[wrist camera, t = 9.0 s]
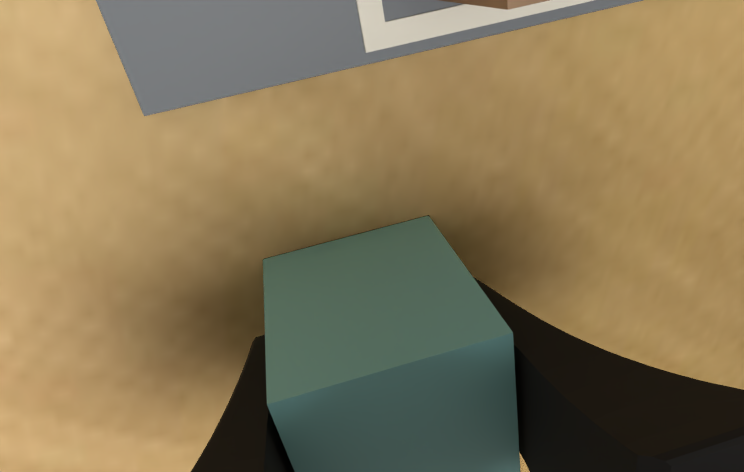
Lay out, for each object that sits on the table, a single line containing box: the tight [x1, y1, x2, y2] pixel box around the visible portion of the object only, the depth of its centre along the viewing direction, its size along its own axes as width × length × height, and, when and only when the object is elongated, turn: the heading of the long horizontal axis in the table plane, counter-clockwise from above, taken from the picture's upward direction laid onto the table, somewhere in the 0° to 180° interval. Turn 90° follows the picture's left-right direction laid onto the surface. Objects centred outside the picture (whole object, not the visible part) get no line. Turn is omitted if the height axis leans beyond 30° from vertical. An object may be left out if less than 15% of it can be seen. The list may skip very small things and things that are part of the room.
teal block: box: [263, 215, 520, 472], centre depth 12 cm, size 4×4×5 cm
